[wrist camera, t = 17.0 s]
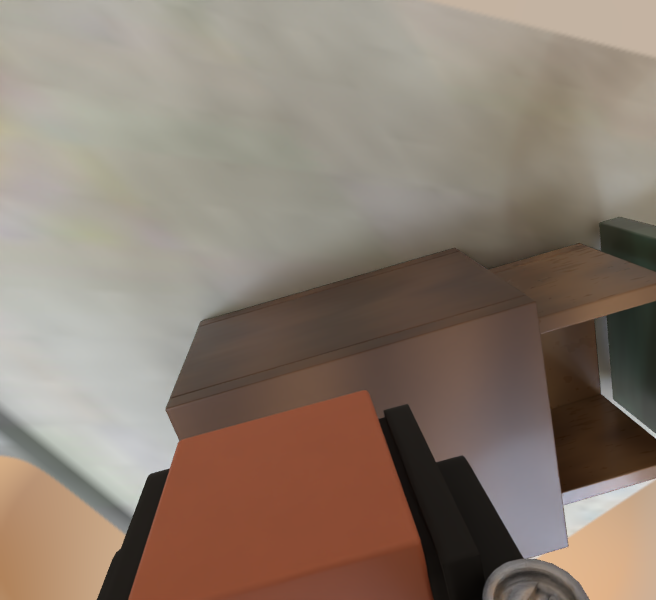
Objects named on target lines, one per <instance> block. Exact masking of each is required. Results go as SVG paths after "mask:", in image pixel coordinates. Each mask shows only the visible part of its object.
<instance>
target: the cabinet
mask: <svg viewBox="0 0 656 600" xmlns="http://www.w3.org/2000/svg"><path fill="white" fill-rule="evenodd" d="M362 390H367V391H368V393H369V394H370V397H371V400H372V403H373V406H374V408H375V411H376V414H377V417H378V419H380V418H383V417H384V412H383V410H386V409H390V408H394V407H397V406H401V405H405V404H408V405H409V407H410V409H411V411H412V413H413V415H414V417H415V419H416V421H417V423H418V426H419V428H420V430H421V432H422V434H423V436H424V438H425V440H426V442H427V444H428V446H429V449H430V451H431V453H432V455H433V457H434V459H435V461H436V462H439V461H443V460H446V459H450V458H454V457H457V456H461V455H463V456H464V457H465V458H466V459H467V461H468V462H469V464H470V466H471V468H472V469H473V471H474V473H475V475H476V476H477V478H478V480H479V482H480V483H481V485H482V487H483V489H484V490H485V492H486V494H487V495H488V497H489V499H490V501H491V502H492V504H493V506H494V508H495V509H496V511H497V513H498V515H499V516H500V518H501V520H502V522H503V523H504V525H505V527H506V528H507V530H508V532H509V534H510V535H511V537H512V539H513V541H514V542H515V544H516V546H517V548H518V549H519V551H520V553H521V555H522V556H523V558H524V559H528V558H531V557H535V556H538V555H542V554H545V553H548V552H552V551H555V550H559V549H562V548H566V547H568V538H567V530H566V523H565V515H564V508H563V500H562V493H561V485H560V477H559V470H558V462H557V455H556V447H555V440H554V432H553V424H552V417H551V409H550V402H549V394H548V386H547V379H546V371H545V364H544V356H543V349H542V341H541V333H540V326H539V318H538V311H537V303H536V301H535V300H533V299H532V298H530V297H529V296H526V294H524V293H523V292H521V291H520V290H518V289H517V288H515V287H514V286H512V285H511V284H509V283H508V282H506V281H504V280H503V279H501V278H500V277H498V276H497V275H495V274H494V273H492V272H491V271H489V270H488V269H486V268H485V267H483V266H482V265H480V264H479V263H477V262H476V261H474V260H473V259H471V258H470V257H468V256H467V255H465V254H464V253H462V252H461V251H459V250H458V249H456V248H452V249H449V250H445V251H442V252H439V253H435V254H432V255H428V256H425V257H421V258H418V259H414V260H411V261H407V262H404V263H401V264H397V265H394V266H390V267H387V268H383V269H380V270H376V271H373V272H370V273H366V274H363V275H359V276H356V277H352V278H349V279H345V280H342V281H338V282H335V283H332V284H328V285H325V286H321V287H318V288H314V289H311V290H307V291H304V292H301V293H297V294H294V295H290V296H287V297H283V298H280V299H276V300H273V301H270V302H266V303H263V304H259V305H256V306H252V307H249V308H245V309H242V310H238V311H235V312H232V313H228V314H225V315H221V316H218V317H214V318H211V319H207V320H204V321H201V322H200V324H199V327H198V329H197V332H196V334H195V337H194V339H193V342H192V344H191V347H190V349H189V352H188V354H187V357H186V359H185V362H184V364H183V367H182V369H181V372H180V374H179V376H178V379H177V381H176V384H175V386H174V389H173V391H172V394H171V396H170V399H169V401H168V404H167V406H166V412H167V414H168V416H169V419H170V421H171V423H172V425H173V427H174V430H175V432H176V434H177V436H178V439H179V441H181V440H182V439H186V438H189V437H193V436H197V435H200V434H204V433H208V432H211V431H215V430H219V429H222V428H226V427H230V426H233V425H237V424H241V423H245V422H248V421H252V420H256V419H259V418H263V417H267V416H270V415H274V414H278V413H281V412H285V411H289V410H292V409H296V408H300V407H303V406H307V405H311V404H314V403H318V402H322V401H325V400H329V399H333V398H336V397H340V396H344V395H347V394H351V393H355V392H358V391H362Z"/></svg>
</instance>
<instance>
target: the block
mask: <svg viewBox="0 0 656 600" xmlns="http://www.w3.org/2000/svg"><path fill="white" fill-rule="evenodd" d="M128 600H434V598H433V594H432V590H431V586H430V582H429V578H428V572H427V564H426V560H425V556H424V552H423V548H422V544H421V539H420V537H419V534H418V531H417V528H416V525H415V522H414V520H413V517H412V514H411V511H410V508H409V505H408V502H407V500H406V497H405V494H404V491H403V488H402V485H401V482H400V480H399V477H398V474H397V471H396V468H395V465H394V463H393V460H392V457H391V454H390V451H389V448H388V445H387V443H386V440H385V437H384V434H383V431H382V428H381V426H380V423H379V420H378V417H377V414H376V411H375V408H374V406H373V403H372V400H371V397H370V394H369V393H368V391H367V390H362V391H358V392H355V393H351V394H347V395H344V396H340V397H336V398H333V399H329V400H325V401H322V402H318V403H314V404H311V405H307V406H303V407H300V408H296V409H292V410H289V411H285V412H281V413H278V414H274V415H270V416H267V417H263V418H259V419H256V420H252V421H248V422H245V423H241V424H237V425H233V426H230V427H226V428H222V429H219V430H215V431H211V432H208V433H204V434H200V435H197V436H193V437H189V438H186V439H182V440H181V441H179V442H178V445H177V448H176V451H175V454H174V457H173V461H172V464H171V467H170V470H169V473H168V476H167V479H166V483H165V486H164V489H163V492H162V495H161V498H160V501H159V504H158V508H157V511H156V514H155V517H154V520H153V523H152V526H151V530H150V533H149V536H148V539H147V542H146V545H145V548H144V552H143V555H142V558H141V561H140V564H139V567H138V570H137V574H136V577H135V580H134V583H133V586H132V589H131V592H130V596H129V599H128Z"/></svg>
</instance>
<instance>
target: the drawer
mask: <svg viewBox="0 0 656 600" xmlns="http://www.w3.org/2000/svg"><path fill="white" fill-rule="evenodd" d="M599 227H600V240H601V251H599V250H596V249H593V248H591V247H587V246H586V245H583V244H580V243H578V244H574V245H571V246H567V247H564V248H561V249H557V250H554V251H550V252H547V253H543V254H540V255H536V256H533V257H530V258H526V259H523V260H519V261H516V262H512V263H509V264H505V265H502V266H499V267H495V268H492V269H488V270H489V271H491V272H492V273H494V274H495V275H497V276H498V277H500V278H501V279H503V280H504V281H506V282H508V283H509V284H511V285H512V286H514V287H515V288H517V289H518V290H520V291H521V292H523V293H524V294H526V296H529V297H530V298H532V299H533V300H535V301H536V303H537V311H538V318H539V326H540V333H541V341H542V349H543V356H544V364H545V371H546V379H547V386H548V394H549V402H550V409H551V417H552V424H553V432H554V440H555V447H556V455H557V462H558V470H559V477H560V485H561V493H562V500H563V505H566V504H569V503H573V502H576V501H580V500H583V499H587V498H590V497H593V496H597V495H600V494H604V493H607V492H611V491H614V490H617V489H621V488H624V487H628V486H631V485H635V484H638V483H641V482H645V481H648V480H652V479H655V478H656V439H655V438H654V437H653V436H652V435H650V434H649V433H648V432H647V431H646V430H644V429H643V428H642V427H641V426H639V425H638V424H637V423H636V422H634V421H633V420H632V419H631V418H630V417H628V416H627V415H626V414H625V413H623V412H622V411H621V410H620V409H619V408H617V407H616V406H615V405H614V404H612V403H611V402H610V401H609V400H607V399H606V398H605V397H604V396H603V395H601V390H600V379H599V368H598V357H597V345H596V334H595V323H594V319H595V318H599V317H602V316H606V315H607V328H608V340H609V353H610V365H611V378H612V390H613V399H614V400H615V401H616V402H617V403H618V404H620V405H621V406H622V407H623V408H625V409H626V410H627V411H628V412H630V413H631V414H632V415H633V416H635V417H636V418H637V419H638V420H640V421H641V422H642V423H643V424H645V425H646V426H647V427H648V428H650V429H651V430H652V431H653V432H655V433H656V226H654V225H650V224H646V223H642V222H638V221H634V220H630V219H626V218H622V217H617V218H614V219H610V220H607V221H603V222H600V223H599Z"/></svg>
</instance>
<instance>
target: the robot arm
mask: <svg viewBox="0 0 656 600" xmlns="http://www.w3.org/2000/svg"><path fill="white" fill-rule="evenodd" d="M383 412H384V417H383V418H380V419H378V420H379V423H380V426H381V428H382V431H383V434H384V437H385V440H386V443H387V445H388V448H389V451H390V454H391V457H392V460H393V463H394V465H395V468H396V471H397V474H398V477H399V480H400V482H401V485H402V488H403V491H404V494H405V497H406V500H407V502H408V505H409V508H410V511H411V514H412V517H413V520H414V522H415V525H416V528H417V531H418V534H419V537H420V539H421V544H422V548H423V552H424V556H425V560H426V564H427V572H428V578H429V582H430V586H431V590H432V594H433V598H434V600H589V598H588V596H587V595H586V593H585V591H584V590H583V588H582V586H581V585H580V583H579V582H578V581H576V580H575V579H574V578H573V577H572V576H571V575H570V574H569V573H568V572H566V571H564V570H563V569H561V568H559V567H557V566H556V565H554V564H552V563H548V562H545V561H541V560H537V559H524V558H523V556H522V555H521V553H520V551H519V549H518V548H517V546H516V544H515V542H514V541H513V539H512V537H511V535H510V534H509V532H508V530H507V528H506V527H505V525H504V523H503V522H502V520H501V518H500V516H499V515H498V513H497V511H496V509H495V508H494V506H493V504H492V502H491V501H490V499H489V497H488V495H487V494H486V492H485V490H484V489H483V487H482V485H481V483H480V482H479V480H478V478H477V476H476V475H475V473H474V471H473V469H472V468H471V466H470V464H469V462H468V461H467V459H466V458H465V457H464V456H463V455H461V456H457V457H454V458H450V459H446V460H443V461H439V462H436V461H435V459H434V457H433V455H432V453H431V451H430V449H429V446H428V444H427V442H426V440H425V438H424V436H423V434H422V432H421V430H420V428H419V426H418V423H417V421H416V419H415V417H414V415H413V413H412V411H411V409H410V407H409V405H408V404H405V405H401V406H397V407H394V408H390V409H386V410H383ZM169 470H170V469H166V470H163V471H159V472H155V473H152V474H150V475H149V476H148V478H147V480H146V483H145V486H144V488H143V491H142V494H141V496H140V499H139V502H138V504H137V507H136V510H135V512H134V515H133V518H132V520H131V523H130V526H129V528H128V531H127V534H126V536H125V539H124V542H123V544H122V547H121V549H120V550H119V551H118V552H116V554H115V556H114V558H113V559H112V562H111V564H110V567H109V570H108V572H107V575H106V577H105V580H104V583H103V585H102V588H101V590H100V593H99V596H98V598H97V600H128V599H129V596H130V592H131V589H132V586H133V583H134V580H135V577H136V574H137V570H138V567H139V564H140V561H141V558H142V555H143V552H144V548H145V545H146V542H147V539H148V536H149V533H150V530H151V526H152V523H153V520H154V517H155V514H156V511H157V508H158V504H159V501H160V498H161V495H162V492H163V489H164V486H165V483H166V479H167V476H168V473H169Z"/></svg>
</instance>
